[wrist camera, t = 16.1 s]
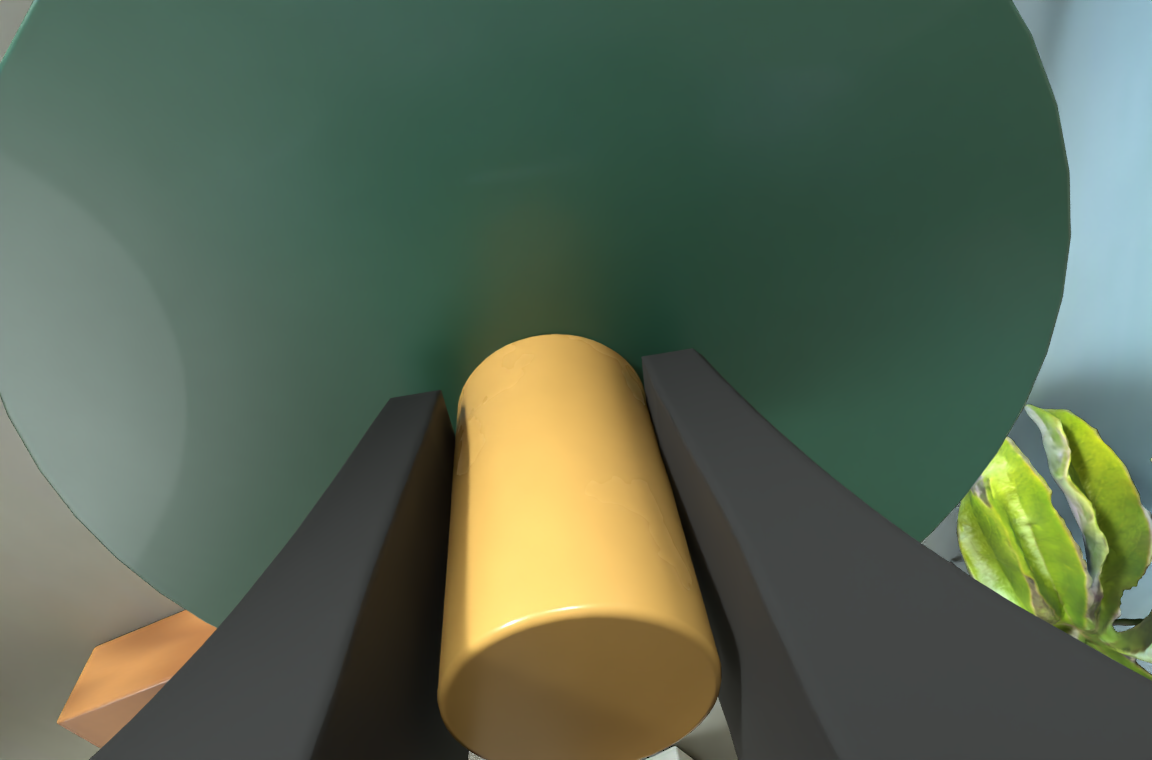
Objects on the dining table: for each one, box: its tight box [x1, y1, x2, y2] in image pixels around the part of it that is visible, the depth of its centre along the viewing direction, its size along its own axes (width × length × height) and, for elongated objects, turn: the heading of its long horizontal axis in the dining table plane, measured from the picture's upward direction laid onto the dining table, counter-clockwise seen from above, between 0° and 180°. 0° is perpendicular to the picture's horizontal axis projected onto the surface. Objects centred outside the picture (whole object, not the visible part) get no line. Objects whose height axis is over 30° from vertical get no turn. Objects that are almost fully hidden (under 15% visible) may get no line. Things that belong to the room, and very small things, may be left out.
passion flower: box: [950, 405, 1152, 680], centre depth 23 cm, size 11×11×12 cm
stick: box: [57, 610, 217, 748], centre depth 24 cm, size 9×2×3 cm, turn 115°
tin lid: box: [0, 0, 1071, 760], centre depth 8 cm, size 13×13×5 cm
